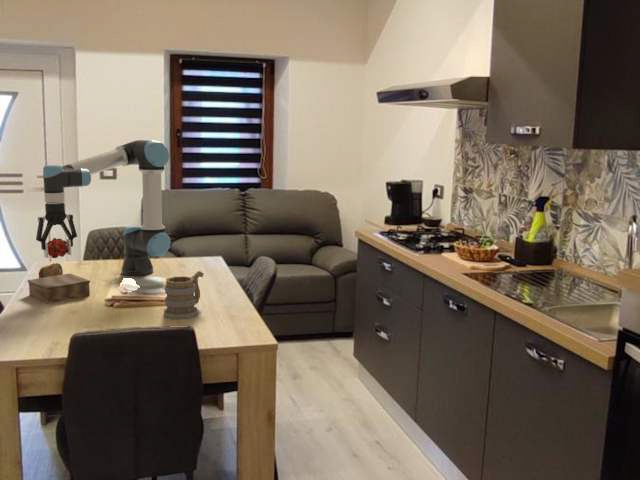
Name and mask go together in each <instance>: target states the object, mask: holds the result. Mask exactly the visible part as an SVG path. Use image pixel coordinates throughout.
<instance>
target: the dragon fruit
mask: <svg viewBox="0 0 640 480" xmlns="http://www.w3.org/2000/svg"><path fill="white" fill-rule="evenodd" d="M67 247H68V246H67V240H63V239H62V238H56V237H53V238H52V239H51V240H49V241H48V257H49V256H50V257H51V258H52V259H57V258H58V257H61V258H63V257H65V255H66V254H67V253H68V251H69V250H68V248H67Z"/></svg>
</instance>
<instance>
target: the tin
mask: <svg viewBox="0 0 640 480" xmlns="http://www.w3.org/2000/svg"><path fill="white" fill-rule="evenodd" d="M63 271H64V270H63V267H62V265H61V264H60V263H58V262H56V263H50V264H48V265H46V266H42V267H41V268H40V269H39V271H38V278H44V277H50V276H57V275H63V273H64V272H63Z"/></svg>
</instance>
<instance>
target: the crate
mask: <svg viewBox="0 0 640 480" xmlns="http://www.w3.org/2000/svg"><path fill="white" fill-rule="evenodd" d="M27 282H28V289H29V290H28V291H29V296H30V297H32V298H34V299H36V300H39V301H41V302H43V303H45V304H47V305H48V304H49V305H50V304H54V303H59V302H65V301H70V300H75V299H80V298H85V297H90V296H91V295H90V290H91V289H90V283H91V280H90V279H87V278H84V277H81V276H78V275H76V274H73V273H64V274H62V275H57V276H50V277H44V278H39V277H38V278H33V279H27Z"/></svg>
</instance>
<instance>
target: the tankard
mask: <svg viewBox="0 0 640 480" xmlns="http://www.w3.org/2000/svg"><path fill="white" fill-rule="evenodd" d="M199 277H200V278H203V277H204V272H202V271H200V270H198V271H197V272H195V273H194V274H193V275H192V276H172V277H169V278H166V284H164V289H163V290H164V292H165V293H164V294H165V295H166V297H165V300H164V302H165V303H164V304H165V307H166V308H164V309H163V317H164V318H167V319H171V320H186V319H187V320H188V319H192V318H193V317H197V316H198V315H199V314H198V307H196V306H195V305H197V304H198V303H199V302H200V301H199V300H200V298H201V289H200V286H199Z"/></svg>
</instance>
